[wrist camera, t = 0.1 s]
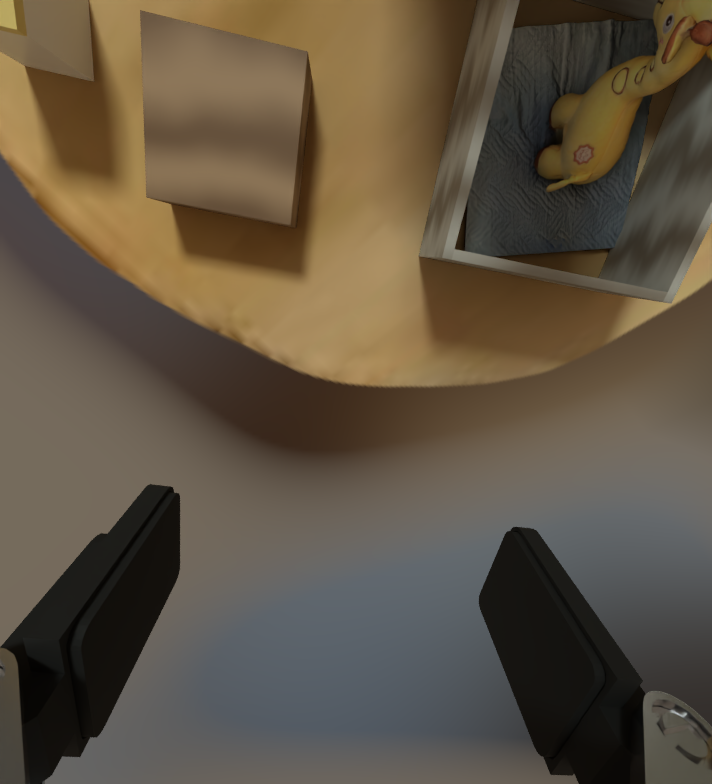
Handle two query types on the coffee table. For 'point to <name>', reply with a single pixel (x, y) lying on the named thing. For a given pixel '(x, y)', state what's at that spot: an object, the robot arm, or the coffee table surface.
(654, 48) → the stuffed giraffe
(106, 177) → the coffee table surface
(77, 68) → the tea tin
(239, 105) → the walnut box
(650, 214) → the grey crate
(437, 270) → the coffee table surface
